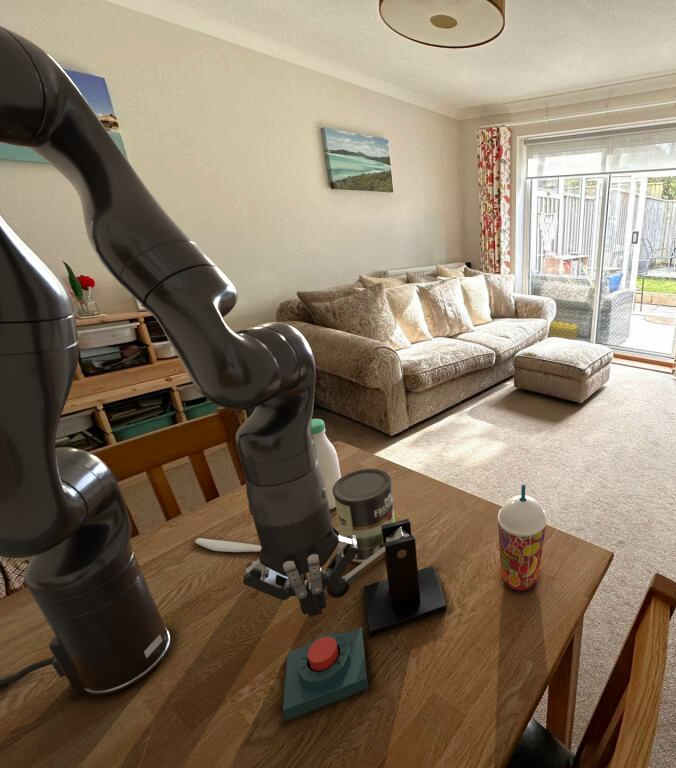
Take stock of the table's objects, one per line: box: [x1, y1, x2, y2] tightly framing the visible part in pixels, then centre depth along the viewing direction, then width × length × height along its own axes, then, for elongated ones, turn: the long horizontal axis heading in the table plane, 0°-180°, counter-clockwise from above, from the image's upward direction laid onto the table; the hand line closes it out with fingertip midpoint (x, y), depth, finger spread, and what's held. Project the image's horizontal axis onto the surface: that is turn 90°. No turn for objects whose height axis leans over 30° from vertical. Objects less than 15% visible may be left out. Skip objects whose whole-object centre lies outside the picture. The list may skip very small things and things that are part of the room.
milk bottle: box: [311, 418, 342, 510], centre depth 88 cm, size 8×8×20 cm
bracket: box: [364, 518, 447, 638], centre depth 65 cm, size 12×9×15 cm
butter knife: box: [194, 537, 261, 553], centre depth 77 cm, size 1×27×3 cm
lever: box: [326, 527, 409, 599], centre depth 62 cm, size 14×3×3 cm, turn 113°
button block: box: [282, 627, 369, 721], centre depth 56 cm, size 10×8×4 cm
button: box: [308, 637, 338, 671], centre depth 55 cm, size 4×4×2 cm
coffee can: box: [333, 468, 396, 564], centre depth 77 cm, size 10×10×14 cm
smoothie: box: [497, 484, 548, 591], centre depth 69 cm, size 8×8×20 cm
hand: (315, 610), depth 52 cm, fingers closed
